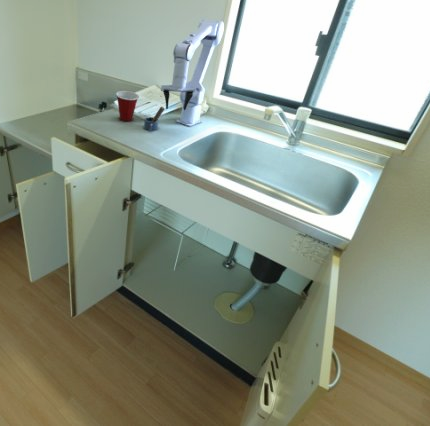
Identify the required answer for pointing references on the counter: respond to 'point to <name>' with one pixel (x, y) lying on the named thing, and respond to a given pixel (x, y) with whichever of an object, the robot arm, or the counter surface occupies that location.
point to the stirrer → (158, 114)
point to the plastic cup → (126, 104)
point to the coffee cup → (150, 124)
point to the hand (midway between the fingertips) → (175, 108)
